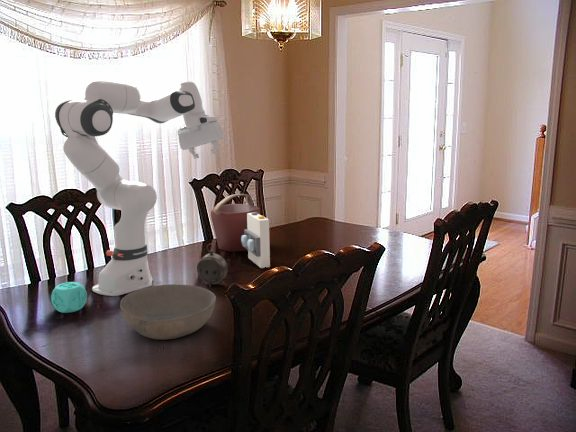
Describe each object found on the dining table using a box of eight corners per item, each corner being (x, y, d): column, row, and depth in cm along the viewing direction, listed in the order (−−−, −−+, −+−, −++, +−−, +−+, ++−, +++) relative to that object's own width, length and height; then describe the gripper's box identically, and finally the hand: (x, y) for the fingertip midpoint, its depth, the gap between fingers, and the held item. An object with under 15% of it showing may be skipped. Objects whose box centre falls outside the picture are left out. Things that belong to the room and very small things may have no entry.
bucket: (247, 238, 263) (245, 189, 258) (272, 247, 246) (270, 194, 240) (203, 246, 249) (200, 194, 244) (226, 256, 231) (224, 201, 226)
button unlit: (245, 248, 220) (244, 236, 219) (241, 245, 225) (241, 234, 224) (249, 247, 221) (248, 236, 220) (245, 244, 226) (245, 233, 225)
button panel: (257, 268, 214) (256, 219, 210) (245, 258, 228) (243, 211, 224) (270, 266, 216) (268, 217, 212) (256, 256, 230) (255, 210, 226)
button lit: (251, 252, 213) (251, 241, 212) (247, 249, 218) (247, 238, 217) (255, 252, 214) (255, 240, 213) (251, 249, 218) (251, 237, 217)
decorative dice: (69, 314, 169) (66, 291, 168) (52, 310, 173) (49, 287, 171) (88, 306, 176) (86, 283, 175) (71, 302, 180) (69, 280, 178)
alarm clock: (228, 284, 196) (227, 242, 192) (223, 289, 191) (221, 246, 187) (202, 282, 199) (199, 240, 195) (195, 286, 193) (193, 244, 190)
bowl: (106, 329, 158) (103, 298, 156) (184, 304, 176) (182, 276, 174) (154, 360, 138) (151, 324, 136) (235, 328, 157) (234, 297, 155)
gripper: (171, 129, 213) (181, 162, 214) (211, 116, 203) (221, 151, 204) (181, 128, 218) (190, 160, 220) (220, 115, 208) (229, 149, 210)
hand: (205, 155), depth 212 cm, fingers open, 8 cm apart
